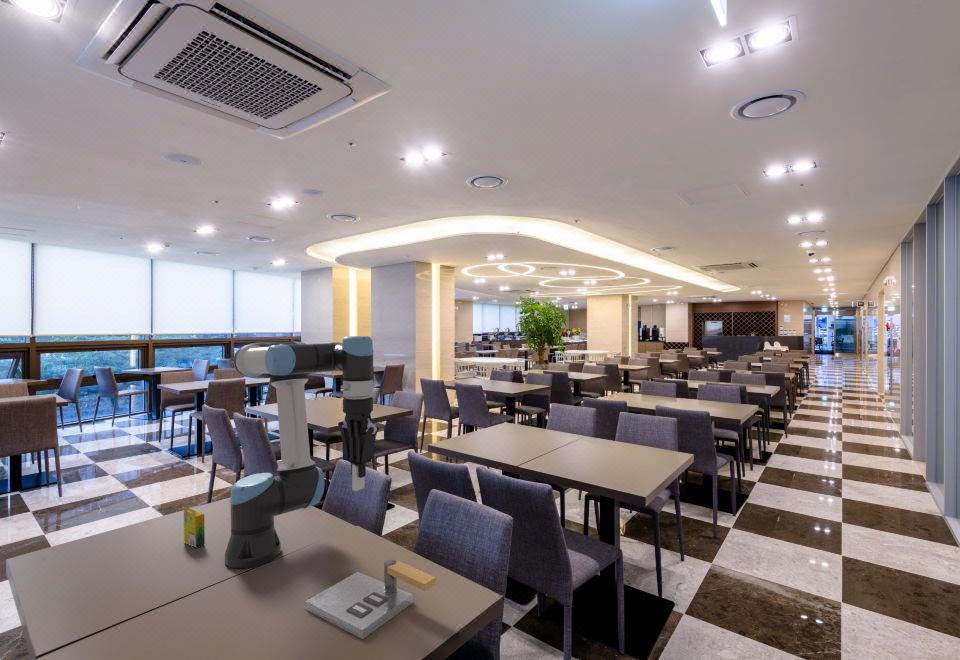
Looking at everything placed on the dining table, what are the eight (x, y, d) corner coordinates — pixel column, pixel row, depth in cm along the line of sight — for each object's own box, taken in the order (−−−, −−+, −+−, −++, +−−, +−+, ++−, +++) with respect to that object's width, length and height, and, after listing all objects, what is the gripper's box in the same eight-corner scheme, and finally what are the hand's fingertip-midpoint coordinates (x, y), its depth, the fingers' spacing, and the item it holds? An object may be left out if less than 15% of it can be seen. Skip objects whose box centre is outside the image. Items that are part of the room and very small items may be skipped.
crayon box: (205, 545, 146) (204, 508, 146) (195, 548, 143) (194, 511, 143) (193, 539, 150) (193, 504, 150) (183, 543, 147) (183, 506, 147)
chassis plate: (305, 609, 110) (305, 601, 110) (357, 579, 123) (357, 571, 123) (362, 639, 99) (362, 630, 99) (412, 602, 112) (412, 594, 112)
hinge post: (382, 599, 114) (381, 571, 114) (390, 593, 116) (390, 566, 116) (390, 602, 112) (390, 575, 112) (399, 596, 115) (399, 569, 115)
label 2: (363, 600, 110) (362, 598, 110) (373, 593, 113) (373, 591, 113) (377, 606, 107) (377, 605, 107) (388, 599, 110) (388, 597, 110)
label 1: (346, 610, 106) (346, 609, 106) (358, 603, 109) (358, 601, 109) (361, 617, 103) (361, 616, 103) (372, 610, 106) (372, 608, 106)
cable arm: (380, 570, 114) (380, 563, 114) (392, 564, 117) (391, 558, 117) (424, 591, 104) (424, 584, 104) (435, 584, 107) (435, 577, 107)
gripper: (329, 396, 117) (329, 488, 117) (364, 401, 110) (364, 499, 110) (352, 392, 123) (352, 480, 123) (387, 396, 116) (387, 489, 116)
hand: (358, 488), depth 117 cm, fingers closed
